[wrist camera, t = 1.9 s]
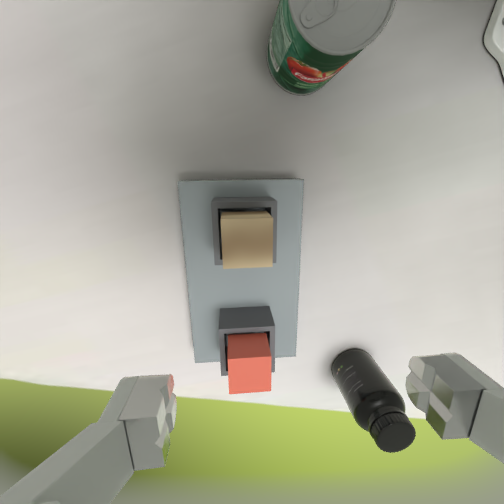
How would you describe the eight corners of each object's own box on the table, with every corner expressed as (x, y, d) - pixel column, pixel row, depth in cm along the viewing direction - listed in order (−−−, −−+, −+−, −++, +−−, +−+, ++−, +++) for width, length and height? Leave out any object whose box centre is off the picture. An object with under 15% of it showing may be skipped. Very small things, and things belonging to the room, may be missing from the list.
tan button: (222, 212, 25) (220, 219, 21) (266, 210, 26) (273, 217, 22) (224, 254, 26) (223, 268, 23) (266, 253, 27) (272, 266, 23)
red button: (227, 334, 29) (227, 359, 26) (266, 332, 30) (271, 356, 26) (229, 366, 31) (229, 394, 27) (266, 363, 31) (271, 391, 27)
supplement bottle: (379, 354, 41) (436, 424, 30) (358, 386, 43) (405, 464, 32) (343, 342, 40) (388, 410, 29) (323, 376, 42) (358, 453, 30)
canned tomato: (312, -9, 26) (366, -127, 16) (350, 64, 29) (419, 3, 18) (251, 44, 27) (264, -34, 17) (292, 111, 30) (326, 78, 19)
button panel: (182, 180, 31) (167, 183, 24) (297, 178, 32) (316, 180, 25) (197, 348, 38) (190, 390, 31) (290, 342, 39) (304, 381, 32)
